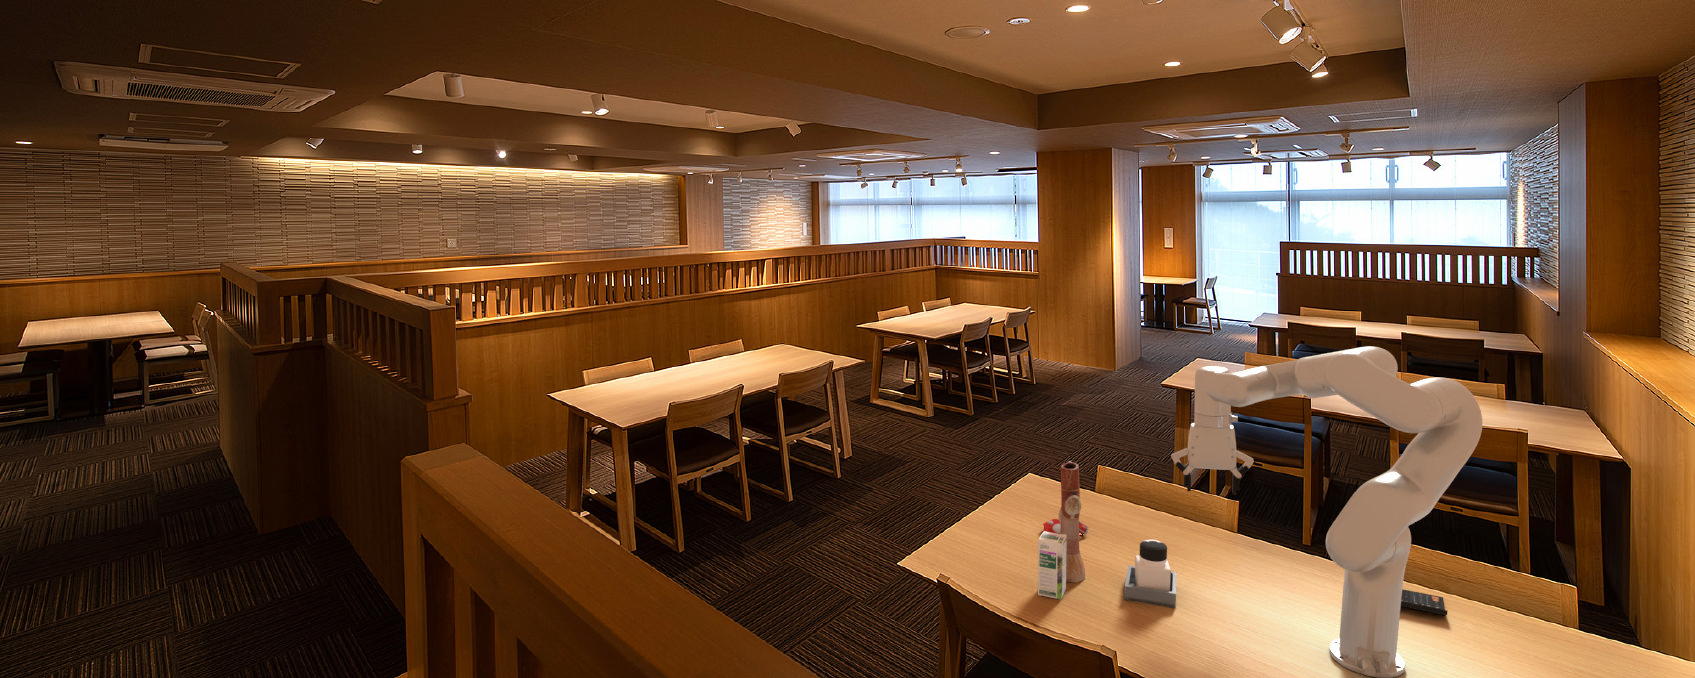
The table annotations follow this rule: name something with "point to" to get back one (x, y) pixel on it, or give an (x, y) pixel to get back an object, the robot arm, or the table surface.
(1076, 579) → the vase
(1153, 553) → the medicine bottle
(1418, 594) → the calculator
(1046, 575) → the syrup box
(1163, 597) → the bin
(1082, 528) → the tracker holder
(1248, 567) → the table surface
